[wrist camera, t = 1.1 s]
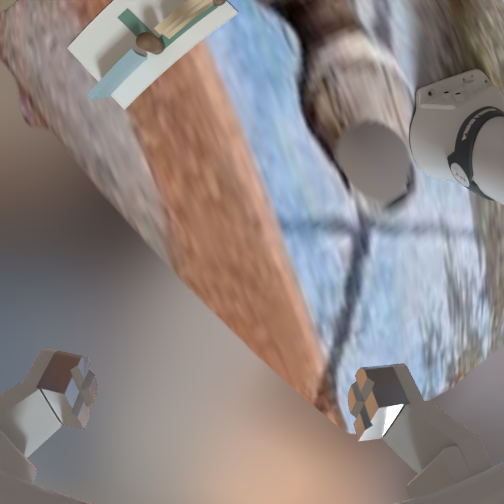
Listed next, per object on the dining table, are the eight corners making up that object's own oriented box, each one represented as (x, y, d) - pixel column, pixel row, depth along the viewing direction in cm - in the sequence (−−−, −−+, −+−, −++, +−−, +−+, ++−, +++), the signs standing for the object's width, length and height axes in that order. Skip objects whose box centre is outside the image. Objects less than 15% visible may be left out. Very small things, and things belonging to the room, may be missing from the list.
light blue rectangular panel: (143, 53, 36) (131, 48, 31) (148, 58, 36) (136, 53, 31) (103, 94, 38) (87, 95, 33) (107, 99, 38) (91, 100, 34)
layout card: (173, -46, 29) (172, -47, 29) (238, 13, 35) (238, 12, 34) (68, 48, 35) (66, 48, 34) (125, 109, 40) (123, 109, 40)
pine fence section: (219, -9, 33) (216, -26, 27) (229, 0, 34) (227, -15, 28) (147, 48, 36) (132, 40, 30) (156, 57, 37) (142, 51, 31)
